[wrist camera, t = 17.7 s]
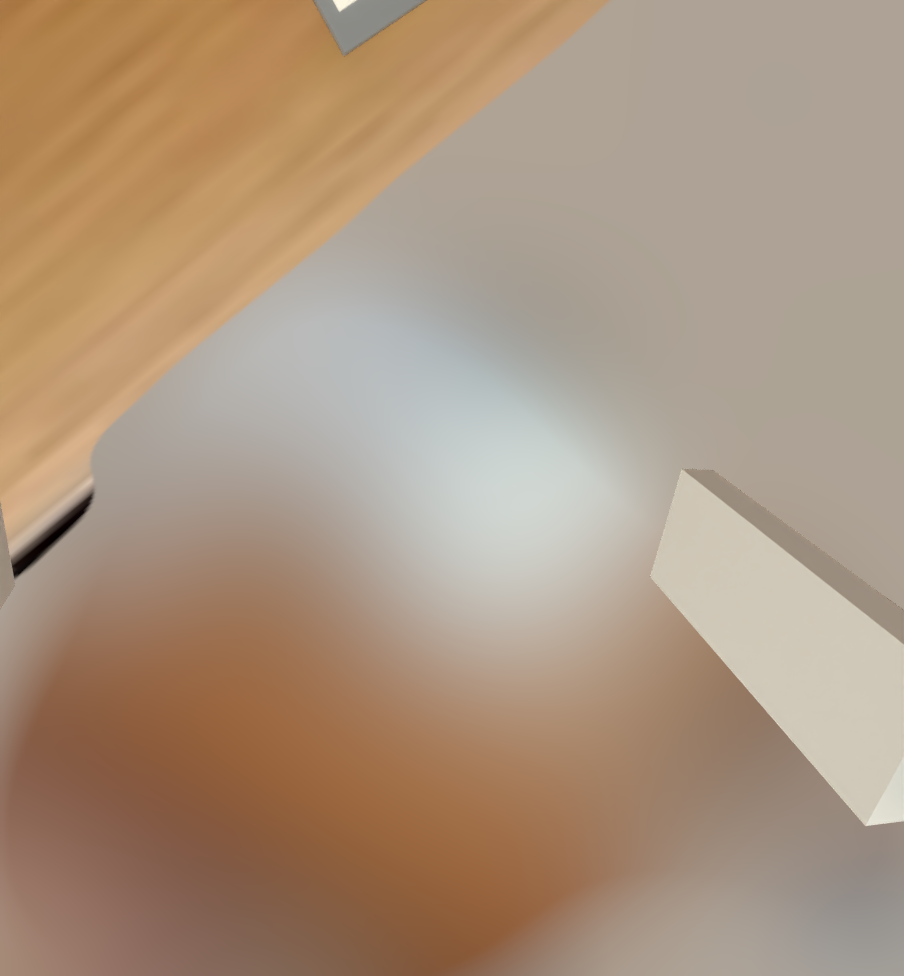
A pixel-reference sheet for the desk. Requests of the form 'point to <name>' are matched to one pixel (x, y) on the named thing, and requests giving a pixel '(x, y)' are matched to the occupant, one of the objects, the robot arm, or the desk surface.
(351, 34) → the switch plate
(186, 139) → the desk surface
